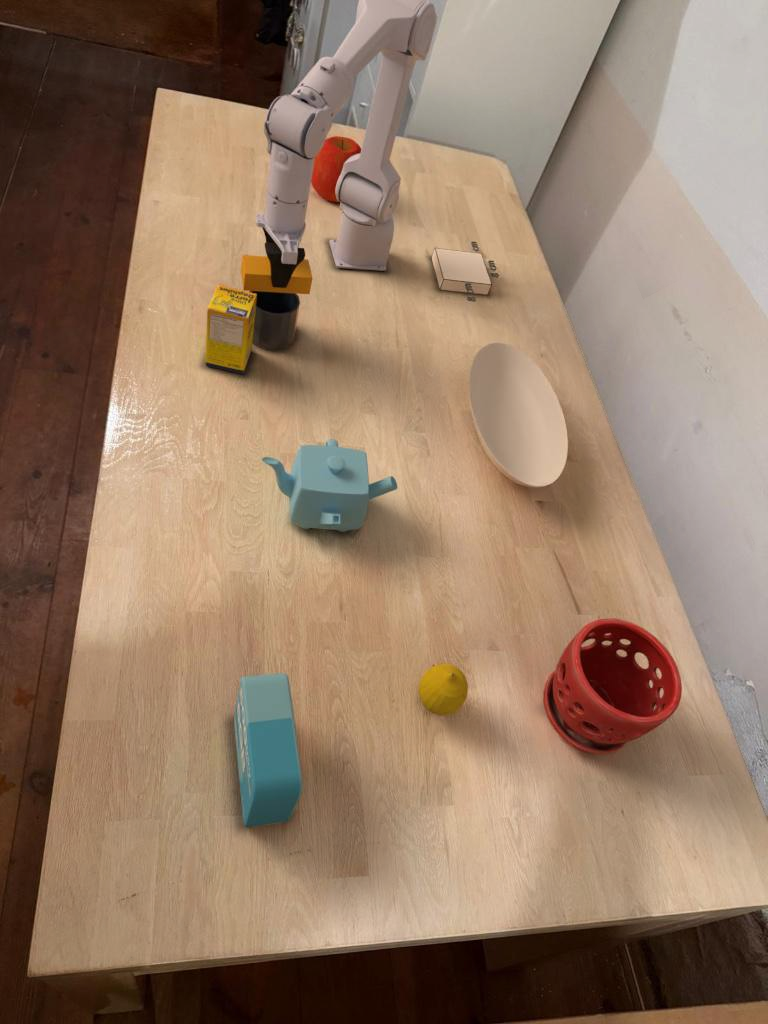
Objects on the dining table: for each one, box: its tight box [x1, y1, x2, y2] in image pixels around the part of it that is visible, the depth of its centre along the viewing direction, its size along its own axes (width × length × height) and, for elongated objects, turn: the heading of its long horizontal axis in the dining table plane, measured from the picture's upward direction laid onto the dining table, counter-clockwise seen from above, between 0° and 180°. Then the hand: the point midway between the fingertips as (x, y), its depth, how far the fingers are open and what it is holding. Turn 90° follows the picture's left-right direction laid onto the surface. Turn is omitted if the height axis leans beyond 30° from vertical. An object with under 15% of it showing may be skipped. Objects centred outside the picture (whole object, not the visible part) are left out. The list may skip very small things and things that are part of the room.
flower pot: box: [542, 618, 683, 755], centre depth 87 cm, size 13×13×12 cm
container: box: [430, 241, 500, 303], centre depth 140 cm, size 20×12×3 cm, turn 8°
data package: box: [233, 672, 303, 828], centre depth 74 cm, size 12×4×12 cm, turn 12°
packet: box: [240, 254, 313, 295], centre depth 112 cm, size 10×4×3 cm, turn 102°
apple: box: [311, 135, 362, 203], centre depth 145 cm, size 11×11×11 cm
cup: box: [248, 291, 301, 351], centre depth 117 cm, size 8×8×7 cm
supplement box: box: [205, 284, 257, 375], centre depth 110 cm, size 6×6×11 cm
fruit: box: [418, 663, 469, 716], centre depth 85 cm, size 6×6×8 cm
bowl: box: [468, 342, 569, 488], centre depth 115 cm, size 30×15×6 cm, turn 4°
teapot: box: [261, 438, 398, 532], centre depth 97 cm, size 18×14×10 cm
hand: (277, 275), depth 112 cm, fingers closed on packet, 4 cm apart
